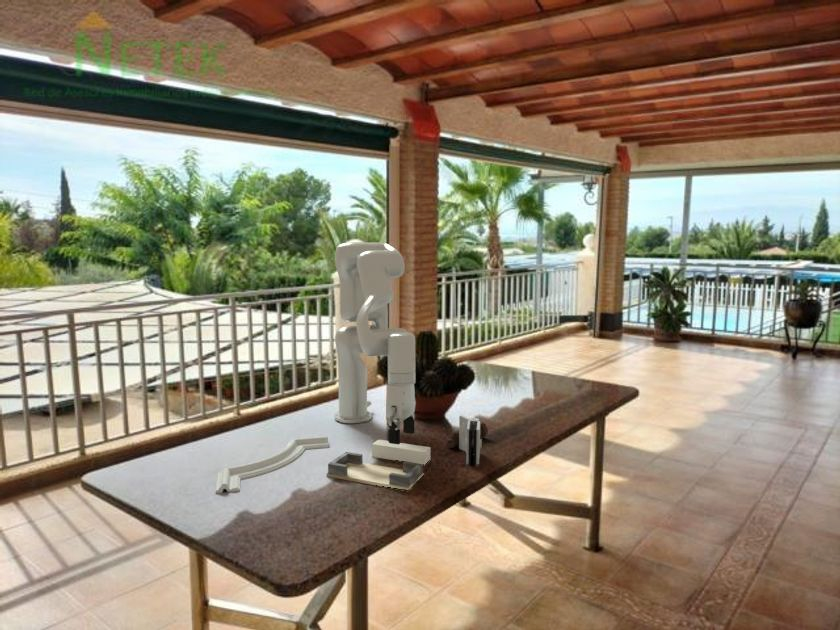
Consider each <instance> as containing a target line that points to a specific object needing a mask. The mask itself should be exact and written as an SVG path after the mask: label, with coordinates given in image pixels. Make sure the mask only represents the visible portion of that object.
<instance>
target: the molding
mask: <svg viewBox="0 0 840 630" xmlns="http://www.w3.org/2000/svg"><path fill="white" fill-rule="evenodd" d="M286 444H287V445H286V446H285V448H284V449H282V450H281V451H279V452H277V453H275V454H273V455H270V456H268V457H266V458H264V459H260V460H257V461H254V462H250V463H245V464H240V465H236V466H229V467H223V469H222V470H221V471H218V473H217V478H216V479H217V480H216V486H215V494H222V493H223V492H224V490H226V491H227V493H233V492H240V490H241V480H246V479H250V478H254V477H259V476H261V475H264V474H267V473H270V472H273V471H276V470H279V469H281V468H283V467H285V466H287V465H289V464H291V463H292V462H294V461H296V460H297V459H298V458H299V457H301V456H302V455H303V453H304V452H305V451H306V450H315V449H328V448H330V445H329V438H328V436H327V435H324V436H316V437H315V436H311V437H301V438H300V437H299V438H291V440H290V441H288V442H287V443H286Z"/></svg>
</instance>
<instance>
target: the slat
mask: <svg viewBox="0 0 840 630" xmlns="http://www.w3.org/2000/svg"><path fill="white" fill-rule="evenodd" d="M371 446H372V447H371V452H372V453H371V456H372V458H376V459H377V458H378V459H385V460H389V461H390V460H391V461H395V460H399V461H398V462H401V461H406V462H412V463H418V464H424V465H423V466H426V465H427V464H428V463H429V462H430V461H431V447H429V446H423V445H418V444H410V443H405V442H400V444H391V443H389V440H385V439H377V440H376V441H375V442H373V443H371ZM429 460H430V461H429ZM428 461H429V462H428ZM427 462H428V463H427ZM426 463H427V464H426ZM425 464H426V465H425Z"/></svg>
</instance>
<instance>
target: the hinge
mask: <svg viewBox="0 0 840 630" xmlns="http://www.w3.org/2000/svg"><path fill="white" fill-rule="evenodd" d="M458 419H459V422H458V423H459V430H458V431H459V446H458V449H459V450H461V451H462V450H463V452H464V451H465V454H466V457H465V458H466V459H465V461H466V462H465V463H466V465H471V466H472V458H473V466H474V465H476V464H479V465H480V456H481V452H480V451H481V449H482V443H483V441H482V440H483V439H480V422H481V421H480V418H477V417H471V418H469V417H467V416H464V415H463V414H460V415H459V417H458ZM472 454H474V455H472ZM476 466H477V465H476Z"/></svg>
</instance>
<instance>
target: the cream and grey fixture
mask: <svg viewBox="0 0 840 630" xmlns="http://www.w3.org/2000/svg"><path fill="white" fill-rule="evenodd" d="M363 461H364V460H363V453H357V452H356V453H355V452H350V451H344V452H343V453H342V454H341V455H339V456H338V457H336V458H334V459H333V460H331V461H330V462H328V463H327V473H326V477H329V478H333V479H340V480H345V481H349V482H350V481H351V482H356V483H362V484H367V485H372V486H376V485H377V487H382V486H384V487H383V488H387V487H391V488H390V489H393V488H398V489H406V490H409V489H410V488H411V487H412V486H413V485H414V484H415V483H416V482H417V481H418V480H419V479H420V478H421V477H422V476H423V475H424V476H425V473H423V466H424V465H423V464H418V463H412V462H406V461H405V462H402V469H400V468H395V467H390V466H383V465H377V464H371V463H365V462H363ZM398 489H397V490H398ZM411 489H412V488H411ZM411 489H410V490H411ZM410 490H409V491H410Z"/></svg>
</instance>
